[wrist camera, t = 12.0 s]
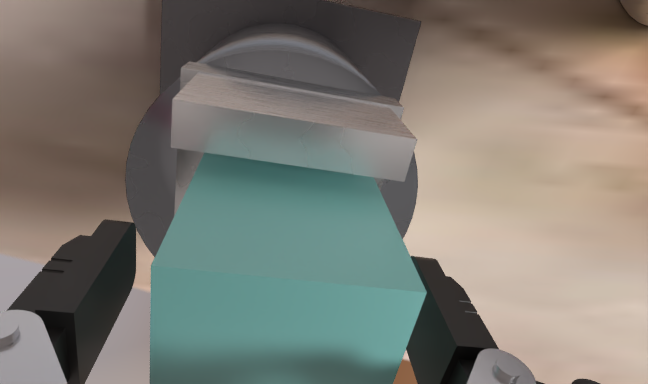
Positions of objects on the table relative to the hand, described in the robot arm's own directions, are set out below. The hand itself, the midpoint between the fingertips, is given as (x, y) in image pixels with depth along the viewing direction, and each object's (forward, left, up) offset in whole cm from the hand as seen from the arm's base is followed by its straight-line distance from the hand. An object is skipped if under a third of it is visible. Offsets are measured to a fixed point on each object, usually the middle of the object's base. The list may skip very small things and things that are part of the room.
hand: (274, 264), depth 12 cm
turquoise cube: (0, 0, -3) cm, 3 cm away
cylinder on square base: (0, 0, -16) cm, 16 cm away
